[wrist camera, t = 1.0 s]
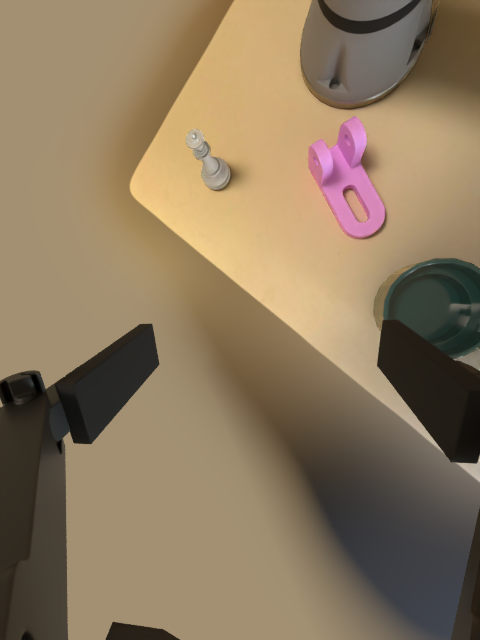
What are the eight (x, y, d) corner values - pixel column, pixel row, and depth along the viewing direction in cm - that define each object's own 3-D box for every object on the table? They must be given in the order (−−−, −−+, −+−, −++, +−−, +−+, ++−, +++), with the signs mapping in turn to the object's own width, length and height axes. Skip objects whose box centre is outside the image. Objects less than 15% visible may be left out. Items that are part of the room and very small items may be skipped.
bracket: (308, 167, 38) (308, 140, 31) (345, 143, 36) (354, 109, 30) (350, 245, 38) (360, 235, 31) (389, 224, 36) (408, 208, 29)
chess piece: (232, 162, 41) (210, 113, 31) (229, 190, 41) (206, 151, 31) (205, 162, 42) (176, 115, 32) (202, 190, 42) (172, 152, 32)
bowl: (363, 279, 38) (372, 276, 32) (458, 251, 34) (486, 243, 29) (384, 359, 38) (397, 369, 33) (481, 339, 35) (513, 347, 29)
